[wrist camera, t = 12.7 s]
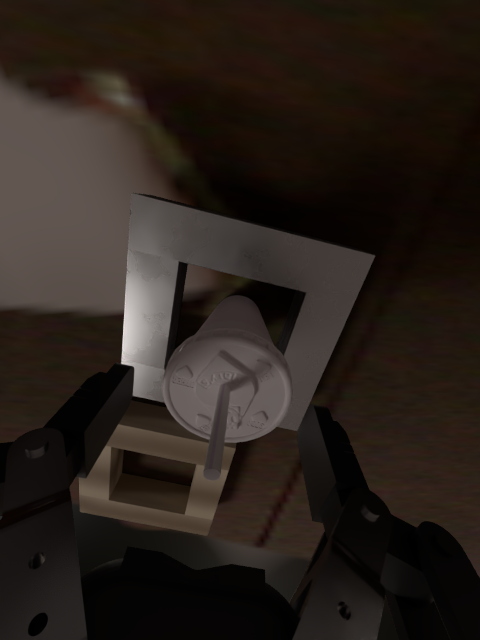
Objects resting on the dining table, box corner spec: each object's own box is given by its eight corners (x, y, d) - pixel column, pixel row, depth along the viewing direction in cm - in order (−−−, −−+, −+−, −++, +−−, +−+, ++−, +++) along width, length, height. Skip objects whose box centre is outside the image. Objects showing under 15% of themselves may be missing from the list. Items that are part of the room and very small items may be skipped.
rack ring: (150, 194, 18) (131, 192, 15) (357, 248, 19) (375, 255, 16) (135, 371, 24) (119, 392, 21) (292, 405, 25) (297, 430, 22)
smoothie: (274, 274, 20) (315, 402, 7) (279, 347, 22) (315, 542, 9) (191, 282, 20) (86, 416, 7) (205, 353, 23) (144, 544, 10)
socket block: (96, 392, 25) (77, 415, 22) (237, 422, 26) (235, 448, 23) (95, 484, 31) (79, 511, 28) (211, 506, 31) (207, 535, 29)
